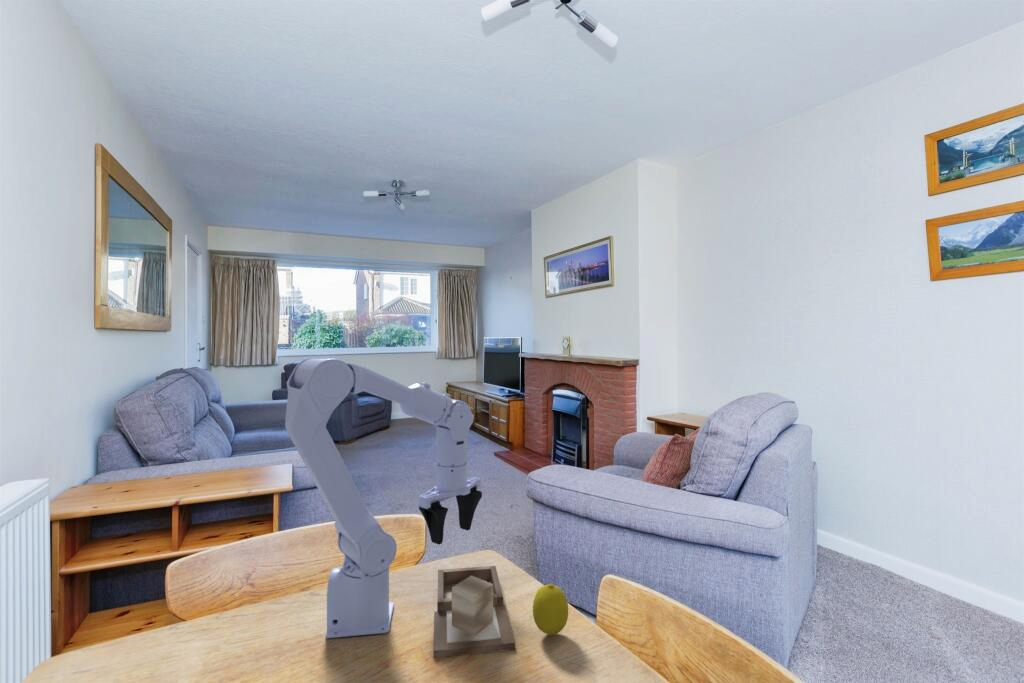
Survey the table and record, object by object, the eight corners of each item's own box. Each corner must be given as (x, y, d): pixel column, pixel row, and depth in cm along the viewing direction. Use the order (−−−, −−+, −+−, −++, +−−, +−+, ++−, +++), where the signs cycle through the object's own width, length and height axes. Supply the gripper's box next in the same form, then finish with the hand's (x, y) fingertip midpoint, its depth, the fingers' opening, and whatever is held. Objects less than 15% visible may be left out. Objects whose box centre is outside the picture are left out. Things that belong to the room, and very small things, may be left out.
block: (473, 636, 70) (473, 597, 70) (451, 625, 72) (451, 587, 72) (492, 621, 73) (493, 584, 73) (471, 611, 76) (471, 575, 76)
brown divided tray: (433, 657, 67) (433, 640, 67) (435, 583, 87) (435, 570, 87) (515, 649, 68) (515, 632, 68) (498, 578, 89) (498, 565, 89)
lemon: (570, 647, 69) (570, 593, 69) (533, 646, 69) (533, 593, 69) (566, 624, 75) (566, 575, 75) (532, 624, 75) (532, 574, 75)
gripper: (439, 475, 78) (438, 555, 78) (492, 458, 90) (492, 528, 90) (411, 468, 82) (410, 544, 82) (465, 453, 94) (465, 519, 94)
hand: (451, 535), depth 86 cm, fingers open, 7 cm apart
